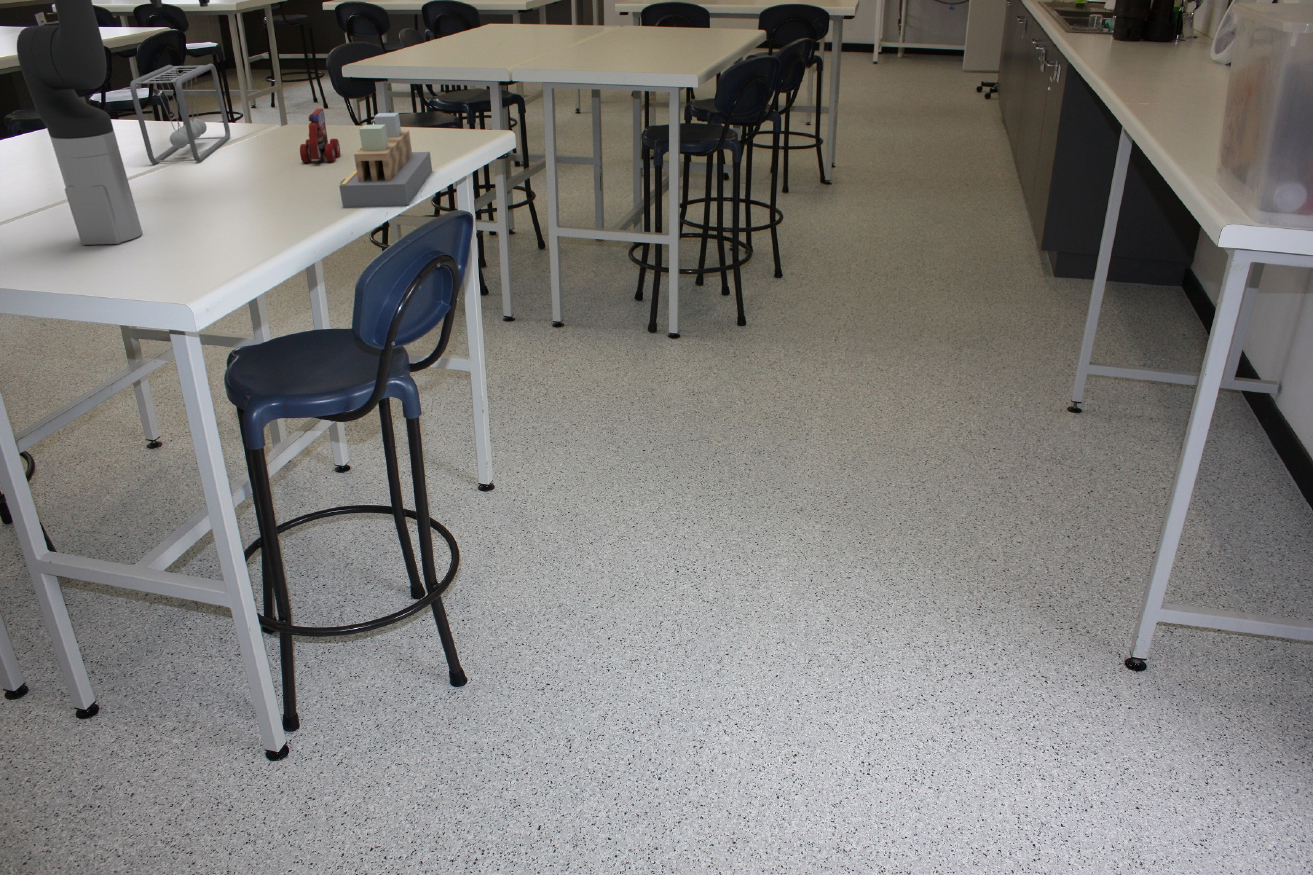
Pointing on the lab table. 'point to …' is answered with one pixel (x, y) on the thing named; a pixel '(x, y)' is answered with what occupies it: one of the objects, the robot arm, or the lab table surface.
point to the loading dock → (388, 185)
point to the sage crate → (373, 137)
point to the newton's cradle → (190, 128)
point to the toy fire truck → (319, 140)
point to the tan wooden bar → (384, 159)
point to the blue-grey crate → (389, 123)
